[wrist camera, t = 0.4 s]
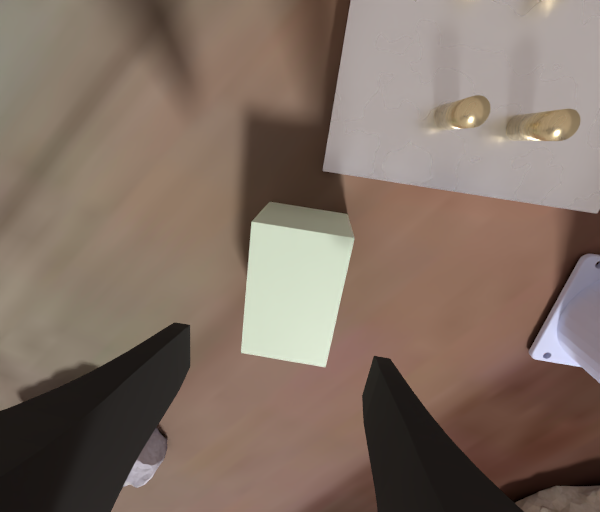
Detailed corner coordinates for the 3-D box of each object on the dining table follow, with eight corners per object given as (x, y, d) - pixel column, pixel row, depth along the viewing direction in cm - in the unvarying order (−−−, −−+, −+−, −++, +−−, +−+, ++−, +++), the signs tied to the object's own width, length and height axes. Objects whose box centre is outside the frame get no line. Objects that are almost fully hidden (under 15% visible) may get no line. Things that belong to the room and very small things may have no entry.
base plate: (729, -96, 12) (936, -216, 8) (575, 207, 17) (654, 229, 13) (374, -142, 13) (397, -280, 8) (322, 168, 18) (321, 177, 13)
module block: (347, 213, 19) (354, 238, 14) (325, 318, 22) (325, 367, 17) (269, 201, 19) (251, 221, 14) (259, 307, 22) (241, 352, 17)
